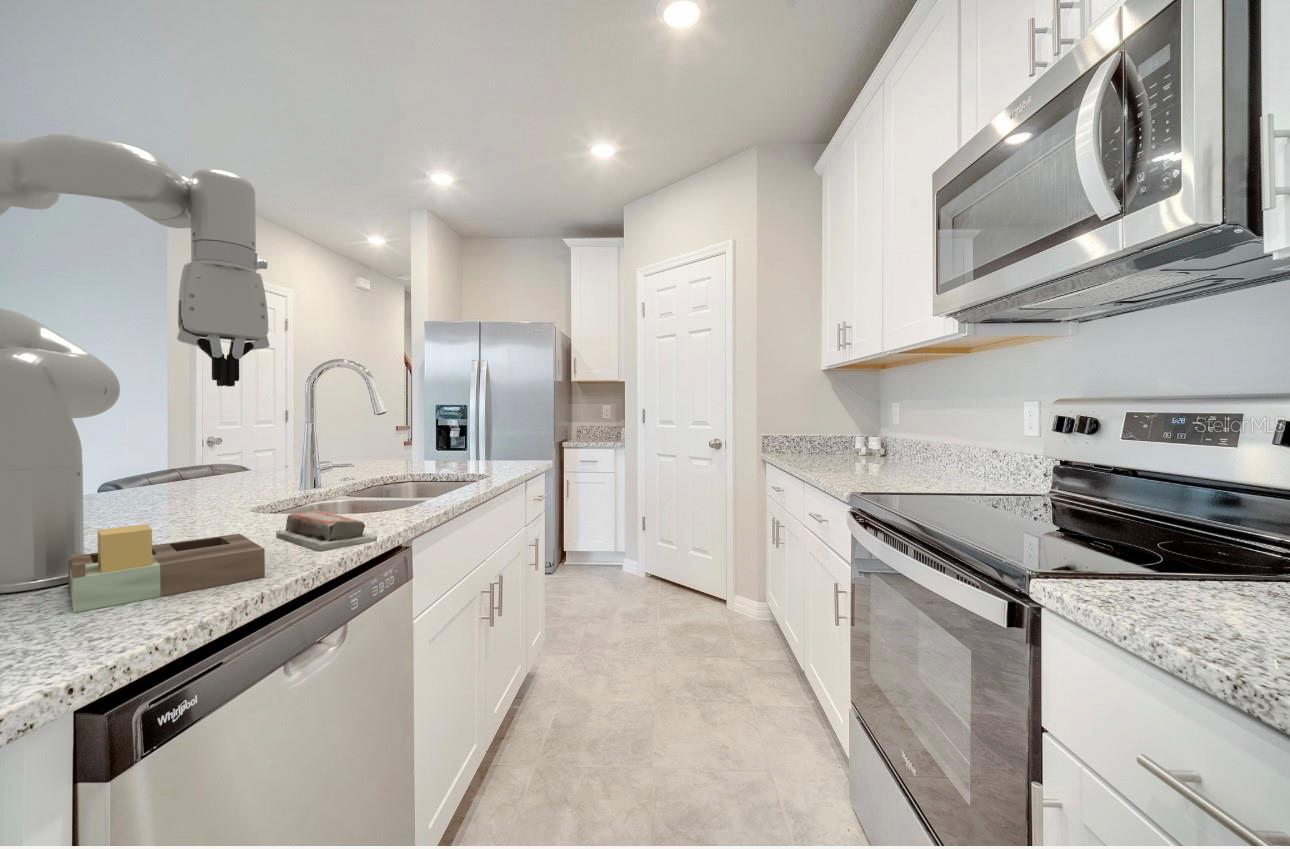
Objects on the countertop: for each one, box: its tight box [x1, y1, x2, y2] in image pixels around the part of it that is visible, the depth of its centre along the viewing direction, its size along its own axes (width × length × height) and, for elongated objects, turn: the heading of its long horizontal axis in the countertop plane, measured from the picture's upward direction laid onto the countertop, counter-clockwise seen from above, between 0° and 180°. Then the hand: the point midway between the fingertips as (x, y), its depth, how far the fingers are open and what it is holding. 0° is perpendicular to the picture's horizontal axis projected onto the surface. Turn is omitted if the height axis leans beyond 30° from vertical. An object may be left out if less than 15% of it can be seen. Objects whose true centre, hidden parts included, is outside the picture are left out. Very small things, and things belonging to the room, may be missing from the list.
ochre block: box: [97, 524, 153, 573], centre depth 67 cm, size 4×4×4 cm
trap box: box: [67, 533, 266, 614], centre depth 74 cm, size 14×18×6 cm
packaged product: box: [275, 510, 378, 552], centre depth 99 cm, size 18×5×10 cm
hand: (225, 385), depth 79 cm, fingers closed
